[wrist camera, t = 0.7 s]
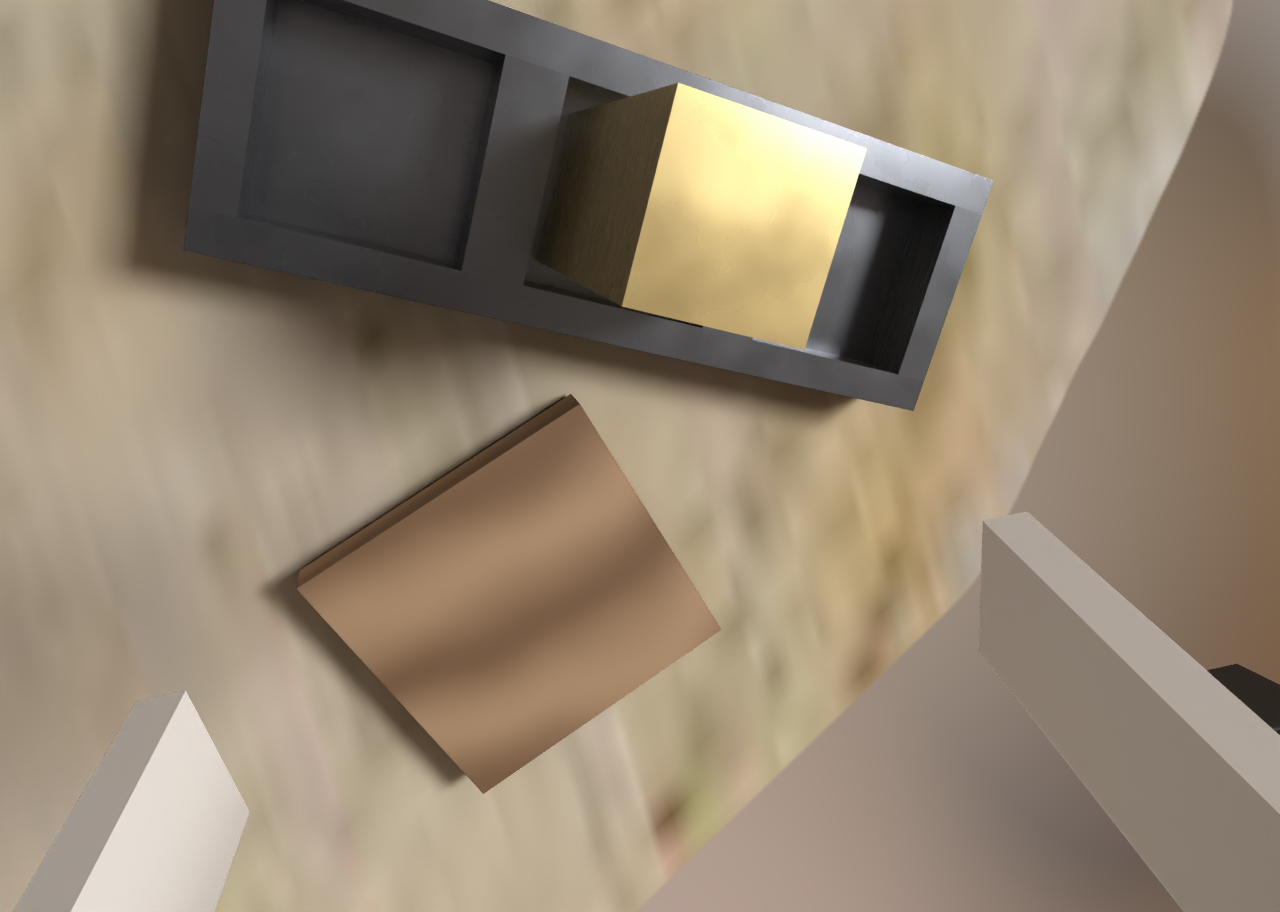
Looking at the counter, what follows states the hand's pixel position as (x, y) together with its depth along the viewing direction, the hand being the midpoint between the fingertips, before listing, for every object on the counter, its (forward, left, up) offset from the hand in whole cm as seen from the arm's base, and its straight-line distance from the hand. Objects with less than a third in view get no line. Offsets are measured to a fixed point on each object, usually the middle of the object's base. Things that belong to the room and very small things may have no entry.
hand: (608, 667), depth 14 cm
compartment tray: (-3, +8, -19) cm, 21 cm away
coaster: (+8, -3, -19) cm, 21 cm away
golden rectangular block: (-3, +8, -18) cm, 20 cm away
